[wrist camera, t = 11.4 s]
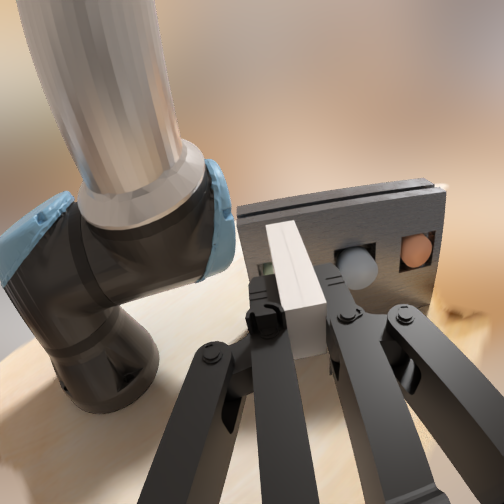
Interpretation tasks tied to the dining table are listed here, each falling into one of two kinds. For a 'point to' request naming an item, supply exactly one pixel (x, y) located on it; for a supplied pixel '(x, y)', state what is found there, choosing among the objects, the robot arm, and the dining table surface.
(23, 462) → the dining table surface
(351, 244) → the button panel
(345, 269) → the grey dome button
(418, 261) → the terracotta button
